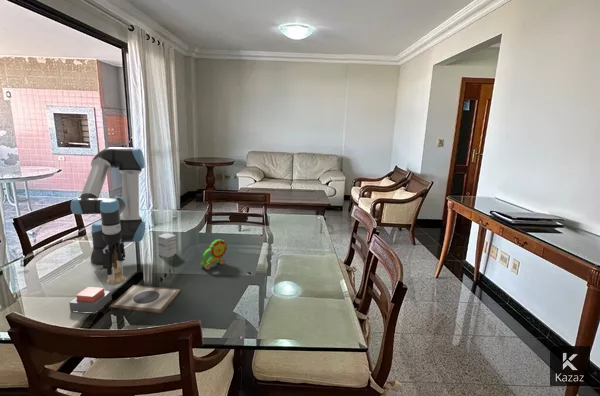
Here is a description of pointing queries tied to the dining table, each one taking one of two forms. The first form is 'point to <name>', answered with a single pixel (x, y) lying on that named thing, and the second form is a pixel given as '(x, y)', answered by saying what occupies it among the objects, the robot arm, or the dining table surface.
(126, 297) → the drawing board
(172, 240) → the supplement box
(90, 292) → the button
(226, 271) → the dining table surface
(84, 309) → the button housing
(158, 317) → the dining table surface
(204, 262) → the toy lion
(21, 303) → the dining table surface
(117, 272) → the hand bell
